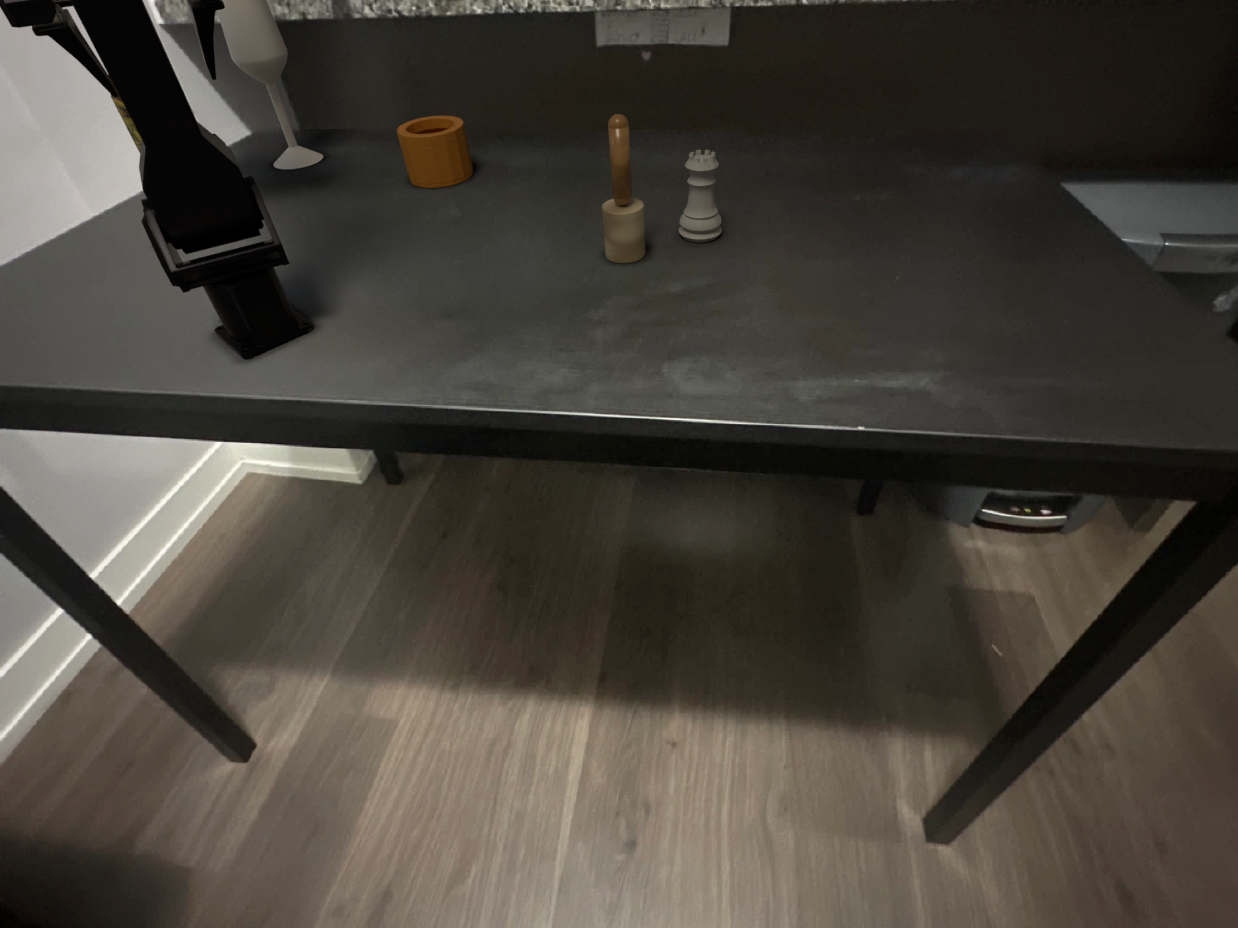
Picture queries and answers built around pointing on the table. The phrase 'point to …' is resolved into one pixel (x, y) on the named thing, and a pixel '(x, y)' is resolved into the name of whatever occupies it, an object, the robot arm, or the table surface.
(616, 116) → the brush
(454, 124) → the orange cylindrical pot
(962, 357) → the table surface
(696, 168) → the rook chess piece
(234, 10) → the champagne flute
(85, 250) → the table surface
